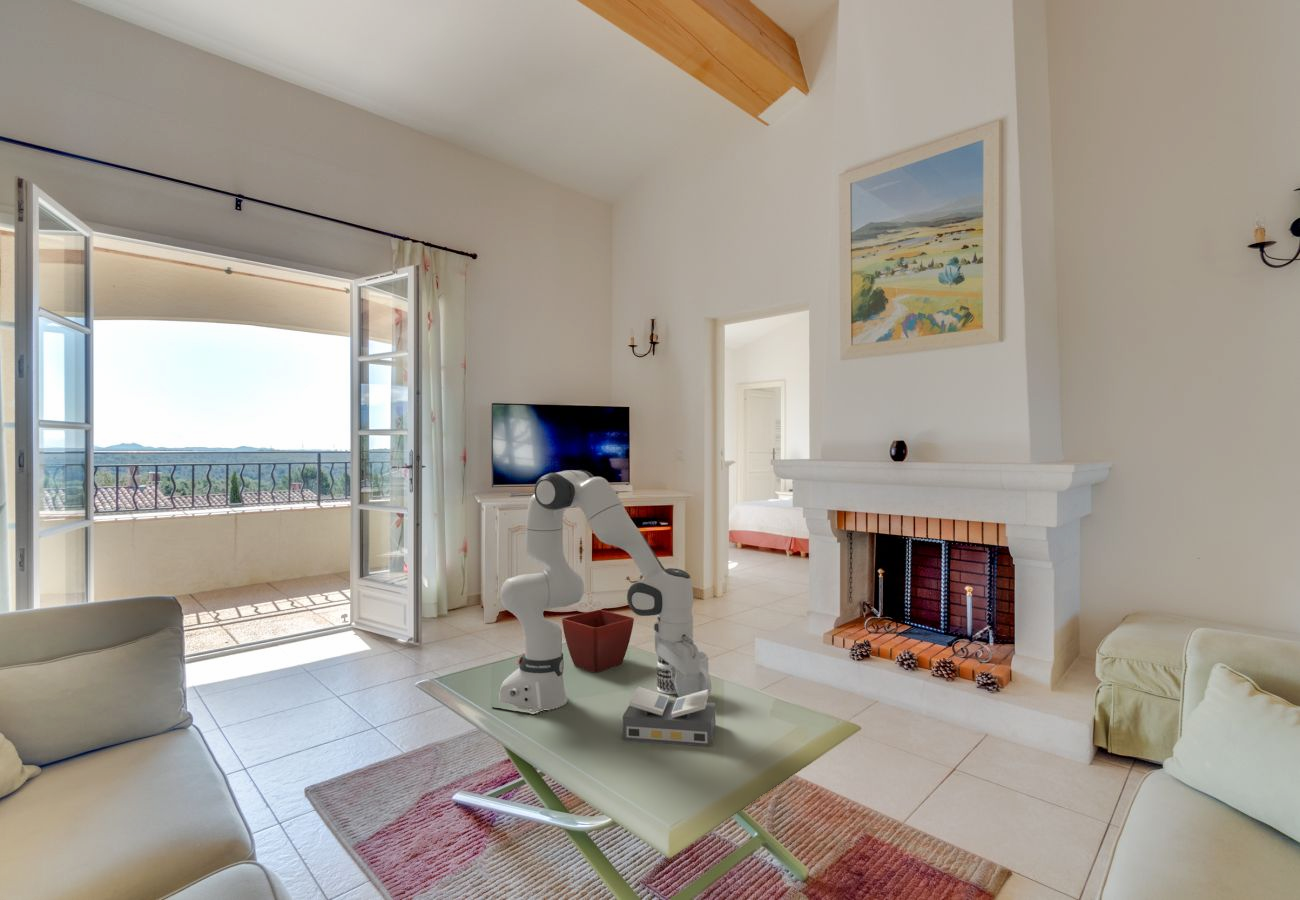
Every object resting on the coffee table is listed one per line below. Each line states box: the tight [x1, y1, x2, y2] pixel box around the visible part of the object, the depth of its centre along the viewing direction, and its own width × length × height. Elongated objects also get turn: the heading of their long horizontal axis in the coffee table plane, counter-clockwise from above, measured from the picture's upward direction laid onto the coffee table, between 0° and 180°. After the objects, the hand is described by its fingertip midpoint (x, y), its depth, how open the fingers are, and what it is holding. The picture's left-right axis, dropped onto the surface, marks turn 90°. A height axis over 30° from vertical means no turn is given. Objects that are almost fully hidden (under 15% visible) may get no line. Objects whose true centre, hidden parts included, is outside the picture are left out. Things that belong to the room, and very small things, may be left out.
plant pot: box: [561, 609, 635, 673], centre depth 216 cm, size 19×19×17 cm
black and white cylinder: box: [656, 615, 677, 695], centre depth 191 cm, size 9×9×25 cm
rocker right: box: [671, 689, 710, 718], centre depth 159 cm, size 9×11×1 cm
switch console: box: [622, 699, 716, 748], centre depth 160 cm, size 23×13×7 cm, turn 79°
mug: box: [674, 650, 712, 698], centre depth 182 cm, size 15×11×13 cm
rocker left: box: [628, 686, 670, 715], centre depth 161 cm, size 9×11×1 cm
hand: (676, 682), depth 160 cm, fingers closed
